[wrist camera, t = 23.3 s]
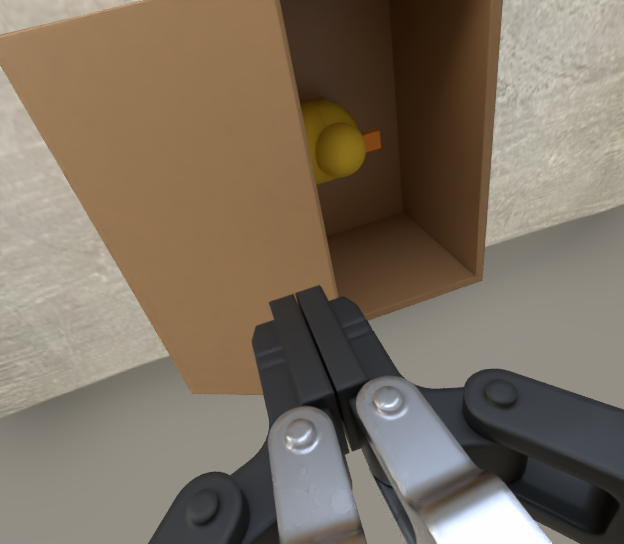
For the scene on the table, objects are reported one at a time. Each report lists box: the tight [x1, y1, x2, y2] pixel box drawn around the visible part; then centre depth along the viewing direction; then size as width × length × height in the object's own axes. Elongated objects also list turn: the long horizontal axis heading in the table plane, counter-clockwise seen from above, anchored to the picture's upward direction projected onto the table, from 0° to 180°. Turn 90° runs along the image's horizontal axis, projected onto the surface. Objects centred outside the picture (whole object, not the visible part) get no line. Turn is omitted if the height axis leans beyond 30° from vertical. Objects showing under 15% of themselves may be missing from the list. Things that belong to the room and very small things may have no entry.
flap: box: [0, 0, 339, 395], centre depth 15 cm, size 8×16×1 cm, turn 11°
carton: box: [0, 0, 503, 321], centre depth 21 cm, size 17×16×10 cm
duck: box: [300, 97, 381, 185], centre depth 22 cm, size 7×4×6 cm, turn 101°
